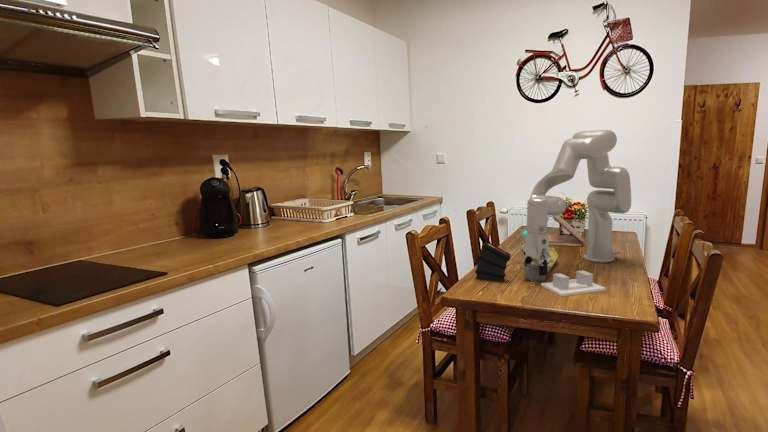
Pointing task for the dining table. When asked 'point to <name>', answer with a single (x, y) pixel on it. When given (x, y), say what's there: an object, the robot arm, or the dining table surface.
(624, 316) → the dining table surface
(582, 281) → the cradle
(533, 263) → the servo
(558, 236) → the case
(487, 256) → the black ridged block
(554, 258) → the plastic component
